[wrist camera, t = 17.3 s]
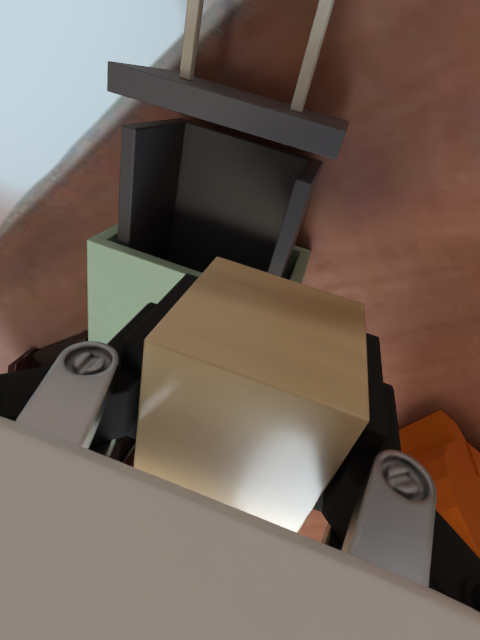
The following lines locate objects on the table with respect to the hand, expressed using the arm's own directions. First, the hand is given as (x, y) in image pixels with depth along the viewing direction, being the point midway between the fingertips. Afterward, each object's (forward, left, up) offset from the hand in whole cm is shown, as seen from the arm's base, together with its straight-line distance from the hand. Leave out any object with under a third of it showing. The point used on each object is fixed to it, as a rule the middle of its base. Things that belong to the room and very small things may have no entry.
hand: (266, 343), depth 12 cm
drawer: (-1, -6, -17) cm, 18 cm away
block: (0, 0, 0) cm, 0 cm away
